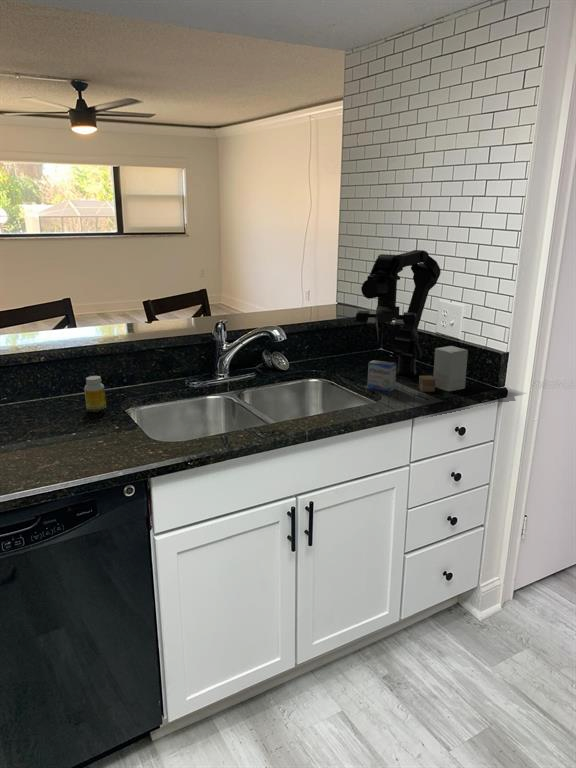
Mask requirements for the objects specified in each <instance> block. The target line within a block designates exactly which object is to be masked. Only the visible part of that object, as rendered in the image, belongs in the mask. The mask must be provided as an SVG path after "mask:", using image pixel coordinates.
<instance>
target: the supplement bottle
mask: <svg viewBox="0 0 576 768" xmlns="http://www.w3.org/2000/svg"><path fill="white" fill-rule="evenodd" d="M85 383H86V384H85V386H84V388H83V389H84V399H85V406H86V408H87V409H86V411H87V410H101V409H104V408H106V409H107V400H106V392H105V391H106V390H105V389H106V388H105V385H104V384H103V383H102V377H101V376H100V375H90V376H87V377H85Z"/></svg>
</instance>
